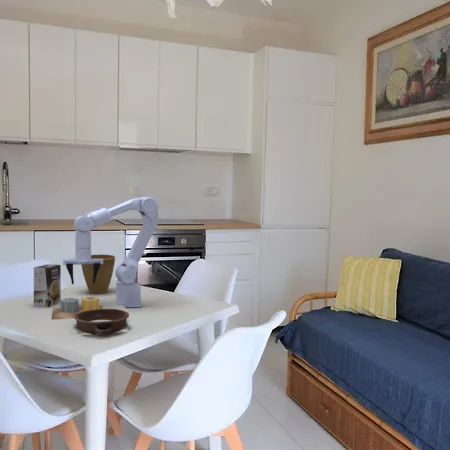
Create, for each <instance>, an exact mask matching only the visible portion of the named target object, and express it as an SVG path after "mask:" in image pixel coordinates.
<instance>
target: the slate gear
mask: <svg viewBox="0 0 450 450" xmlns="http://www.w3.org/2000/svg"><path fill="white" fill-rule="evenodd" d="M67 298H68V297H66V298H64V299H63V298H61V303H60V308H61V312H65V313H68V312H75V311H78V307H79V298H75V297H71V298H72V301H67Z"/></svg>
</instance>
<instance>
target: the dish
mask: <svg viewBox="0 0 450 450" xmlns="http://www.w3.org/2000/svg"><path fill="white" fill-rule="evenodd" d="M129 313H130V312H128V311H125V310H124V309H117V308H103V309H96V310H88V311H82V312H80V313H77V314H75V316H74V318H73V319H74V320H75V321H76V325H77V328H78V329H79V330H81V331H83V333H86V334H88V335H95V336H97V335H98V336H100V337H103V336H104V337H105V336H108V335H111V334H115V333H117V332H120V331H121V330H122V328H124V327H125V325H126V323H127V320H128V318H129V316H130V314H129Z"/></svg>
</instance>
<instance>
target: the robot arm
mask: <svg viewBox="0 0 450 450" xmlns="http://www.w3.org/2000/svg"><path fill="white" fill-rule="evenodd" d="M128 211H138V212H139V213H140V215H141V217H142V219H143V224H142V226H141V228H140V230H139V232H138V234H137V236H136V238H135V240H134V242H133V244H132V246H131V248H130V249H129V252H128V253H127V256H126V257H125V258H124V259H123V260H122V263H120V264H119V265H118V266H117V267H116V269H115V271H114V275H115V277H116V278H117V280H116V282H115V283H116V284H115V289H116V290H115V293H116V294H115V296H116V297H115V298H116V300H115V303H116V304H117V305H121V306H124V308H125V309H126V308H138V307H139V308H141V307H142V305H141V301H142V298H141V297H142V294H141V291H142V290H141V288H142V287H141V283H140V282H136V280H137V273H138V270H139V262H140V260H141V259H142V257H143V255H144V252H145V250H146V249H147V246H148V244H149V242H150V241H151V238H152V237H153V234H154V232H155V231H156V229H157V226H158V225H159V204H158V203H157V201H156V199H155V197H152V196H139V197H135V198H132V199H128V200H126V201H124V202H122V203H120V204H117V205H115V206H112V207H110V208H106V207H101V206H100V207H96V210H93V211H91V212H85V215H79V216H77V217H76V218H75V220H74V222H73V226H74V228H75V236H74V239H75V241H74V245H75V247H74V248H75V251H74V252H75V253H74V254H75V255H74V257H75V258H68V259H67V258H66V259H62V266H65V268H66V270H67V273H68V275H69V277H70V280H71V285H75V280H74V279H75V278H74V265H75V266H76V265H79V266H80V265H81V264H93V283H95V279H96V276H97V273H98V270H99V268H100V264H103V258H102V259H98V258H91V255H92V235H91V233H92V232H91V230H92V228H96V227H99V226H101V225H103V224H106V223H109V222H110V221H111V219H112V217H114V216H118V215H120V214H123V213H126V212H128ZM86 262H89V263H86Z"/></svg>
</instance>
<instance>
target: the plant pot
mask: <svg viewBox="0 0 450 450" xmlns="http://www.w3.org/2000/svg"><path fill="white" fill-rule="evenodd" d="M91 258H98V259H102V258H103V264H100V268H99V270H98V273H97V276H96V279H95V283H93V264H80V266H81V271H82V274H83V278H84V281H85V284H86V287H87V290H88V292H89V294H91V295H104V294H107V293H108V290H109V287H110V285H111V281H112V277H113V273H114V269H115V268H114V267H115V262H116V261H115V260H116V256H115V255H112V254H104V253H103V254H98V253H97V254H91ZM86 263H89V262H86Z"/></svg>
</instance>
